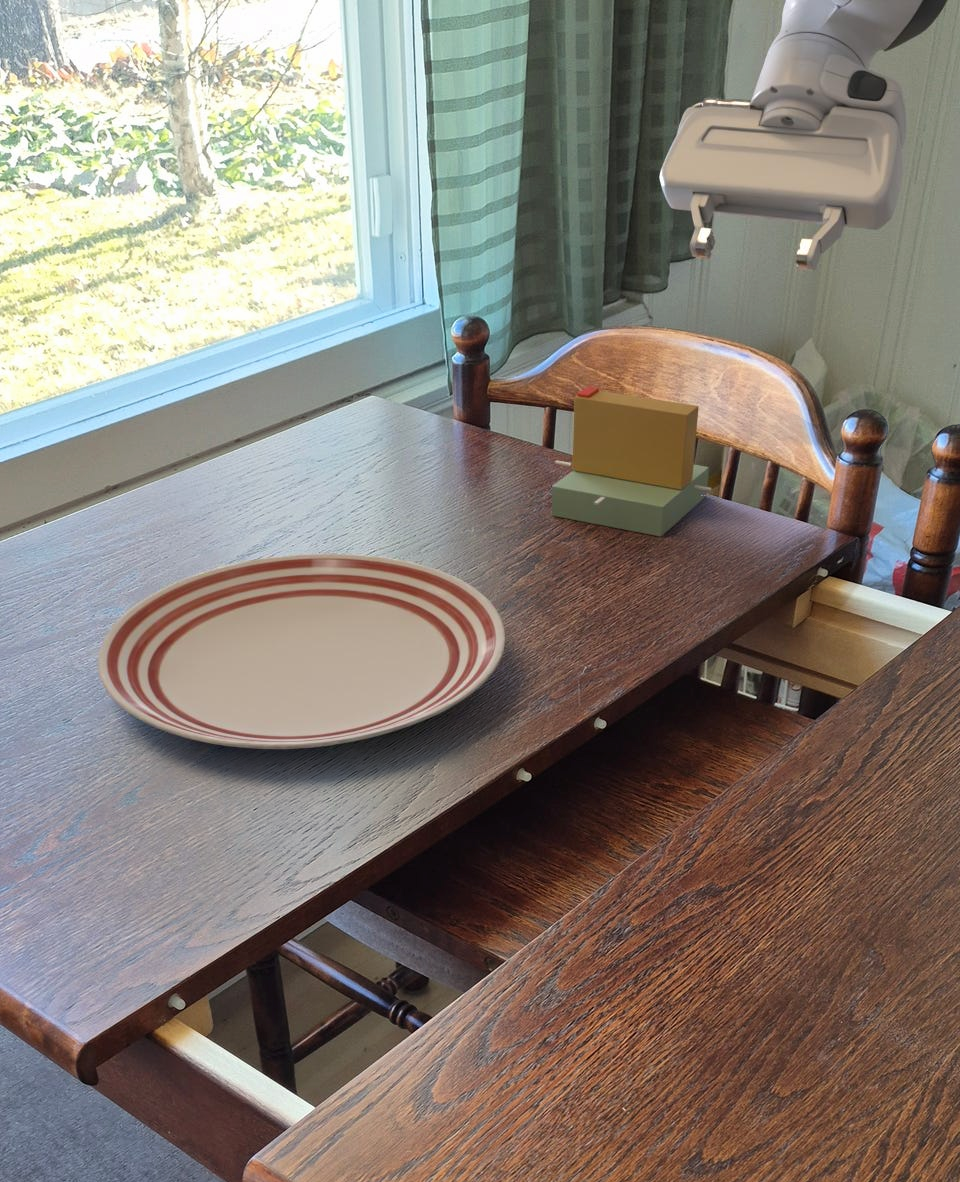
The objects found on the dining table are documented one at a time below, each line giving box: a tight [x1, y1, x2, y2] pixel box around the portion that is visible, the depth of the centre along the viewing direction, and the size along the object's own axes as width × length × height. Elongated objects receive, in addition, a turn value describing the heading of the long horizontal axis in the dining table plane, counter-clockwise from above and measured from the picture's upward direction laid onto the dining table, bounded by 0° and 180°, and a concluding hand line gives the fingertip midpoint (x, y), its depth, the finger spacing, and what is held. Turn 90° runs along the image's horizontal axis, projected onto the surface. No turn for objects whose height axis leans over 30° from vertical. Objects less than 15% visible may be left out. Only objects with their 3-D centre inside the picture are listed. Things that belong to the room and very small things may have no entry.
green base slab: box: [551, 460, 713, 538], centre depth 121 cm, size 14×14×3 cm
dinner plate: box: [97, 553, 506, 750], centre depth 98 cm, size 28×27×3 cm
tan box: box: [571, 386, 699, 490], centre depth 118 cm, size 10×2×6 cm, turn 62°
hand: (751, 259), depth 121 cm, fingers open, 8 cm apart
